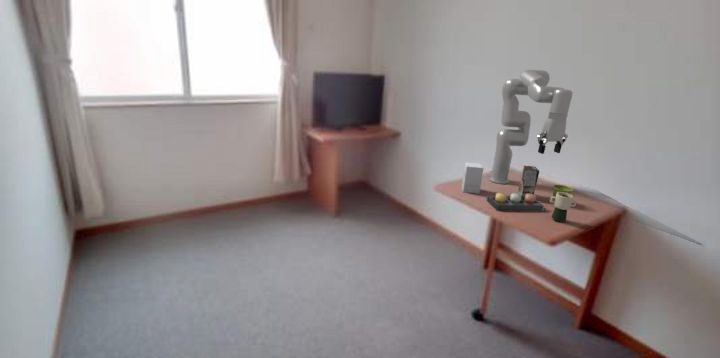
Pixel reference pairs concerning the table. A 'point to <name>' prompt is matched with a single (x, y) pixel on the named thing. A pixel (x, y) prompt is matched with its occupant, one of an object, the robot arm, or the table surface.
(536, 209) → the panel
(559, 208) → the character mug
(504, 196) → the mustard button
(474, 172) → the supplement box
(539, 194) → the table surface
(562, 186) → the plant pot
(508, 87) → the robot arm
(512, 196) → the sage button
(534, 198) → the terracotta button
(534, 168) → the coffee box
